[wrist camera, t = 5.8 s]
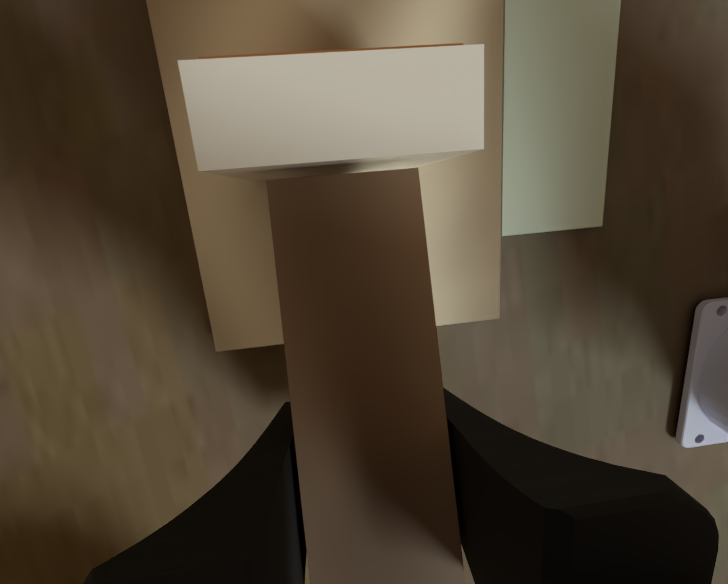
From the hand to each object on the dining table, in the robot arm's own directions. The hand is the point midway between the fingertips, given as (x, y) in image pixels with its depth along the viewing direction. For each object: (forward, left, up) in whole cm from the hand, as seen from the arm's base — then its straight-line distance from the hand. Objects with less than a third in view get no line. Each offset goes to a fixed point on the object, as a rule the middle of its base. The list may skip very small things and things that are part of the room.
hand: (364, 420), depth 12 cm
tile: (0, -9, -4) cm, 10 cm away
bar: (0, 0, -3) cm, 3 cm away
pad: (-9, -12, -5) cm, 16 cm away
